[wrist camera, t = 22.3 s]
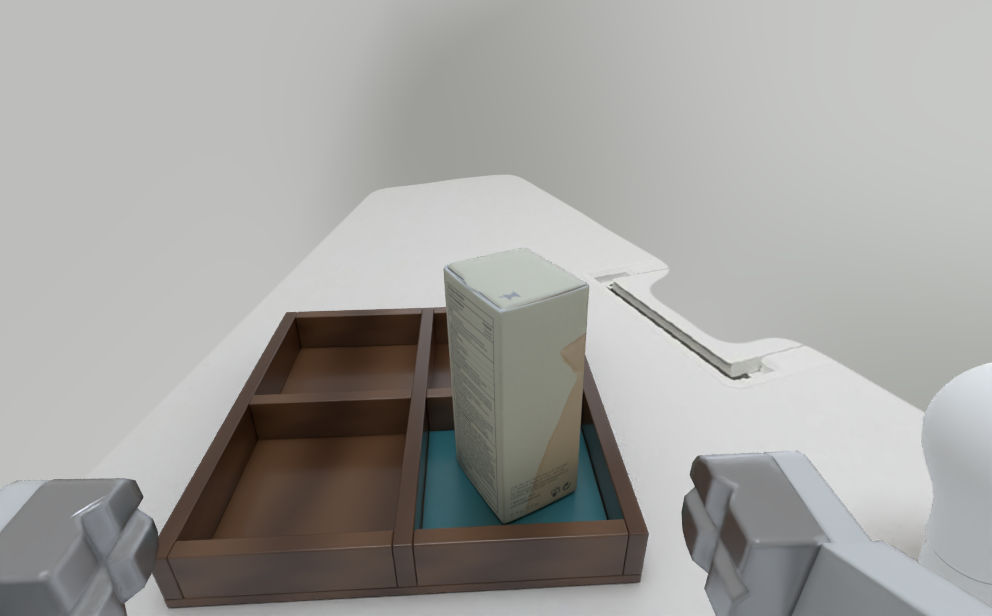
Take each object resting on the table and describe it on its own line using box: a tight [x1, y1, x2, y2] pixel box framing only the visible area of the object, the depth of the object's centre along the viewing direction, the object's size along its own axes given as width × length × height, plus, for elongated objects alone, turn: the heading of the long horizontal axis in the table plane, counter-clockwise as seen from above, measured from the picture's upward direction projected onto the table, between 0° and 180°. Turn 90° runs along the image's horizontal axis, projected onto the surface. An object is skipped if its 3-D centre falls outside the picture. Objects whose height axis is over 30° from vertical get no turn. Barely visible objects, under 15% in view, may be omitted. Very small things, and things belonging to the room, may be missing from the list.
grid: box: [152, 307, 649, 607], centre depth 31 cm, size 19×19×3 cm
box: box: [444, 248, 589, 524], centre depth 25 cm, size 5×4×11 cm
